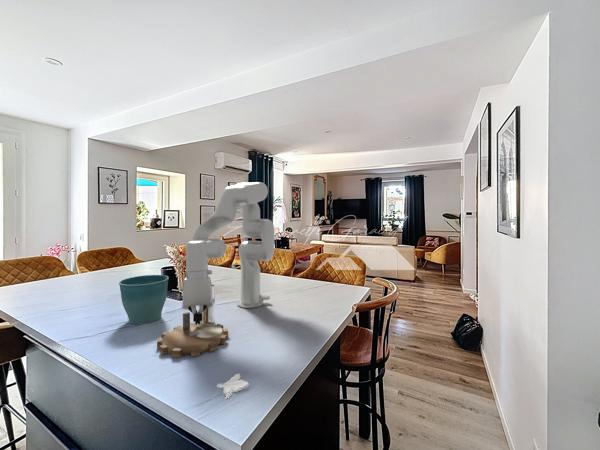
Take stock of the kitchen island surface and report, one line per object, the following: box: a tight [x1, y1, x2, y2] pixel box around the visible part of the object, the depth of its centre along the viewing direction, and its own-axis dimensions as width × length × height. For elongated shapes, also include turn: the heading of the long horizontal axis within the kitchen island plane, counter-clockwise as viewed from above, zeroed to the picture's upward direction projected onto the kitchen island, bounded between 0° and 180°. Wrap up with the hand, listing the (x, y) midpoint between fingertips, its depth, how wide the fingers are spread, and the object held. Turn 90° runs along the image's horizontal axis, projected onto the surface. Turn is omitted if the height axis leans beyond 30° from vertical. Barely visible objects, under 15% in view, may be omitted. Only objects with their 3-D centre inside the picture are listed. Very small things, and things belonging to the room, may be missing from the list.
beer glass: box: [198, 283, 216, 324], centre depth 112 cm, size 7×7×15 cm
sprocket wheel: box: [156, 311, 229, 358], centre depth 94 cm, size 23×23×8 cm
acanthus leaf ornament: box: [216, 372, 249, 400], centre depth 69 cm, size 8×7×2 cm
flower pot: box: [118, 274, 169, 325], centre depth 114 cm, size 18×18×17 cm
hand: (197, 323), depth 101 cm, fingers closed
